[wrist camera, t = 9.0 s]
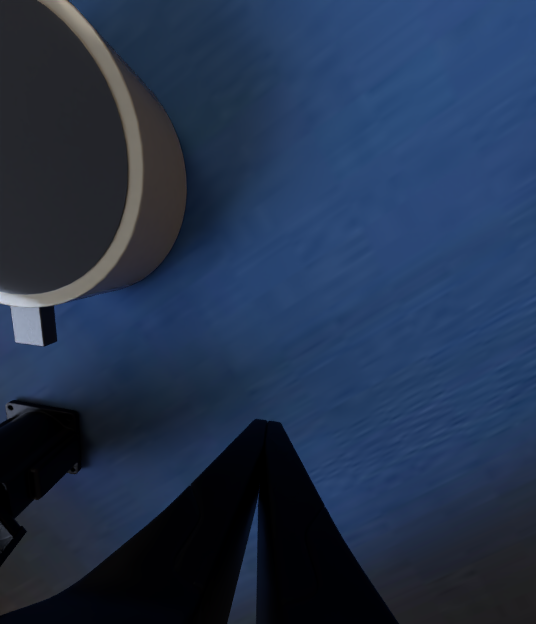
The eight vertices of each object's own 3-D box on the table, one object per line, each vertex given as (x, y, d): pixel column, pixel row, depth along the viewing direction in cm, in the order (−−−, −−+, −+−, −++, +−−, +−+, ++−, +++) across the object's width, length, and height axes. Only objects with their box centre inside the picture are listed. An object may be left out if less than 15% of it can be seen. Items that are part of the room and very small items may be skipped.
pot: (-4, 311, 22) (-100, 332, 17) (-53, -11, 17) (-215, -132, 11) (183, 336, 21) (145, 366, 16) (192, 0, 16) (139, -128, 10)
